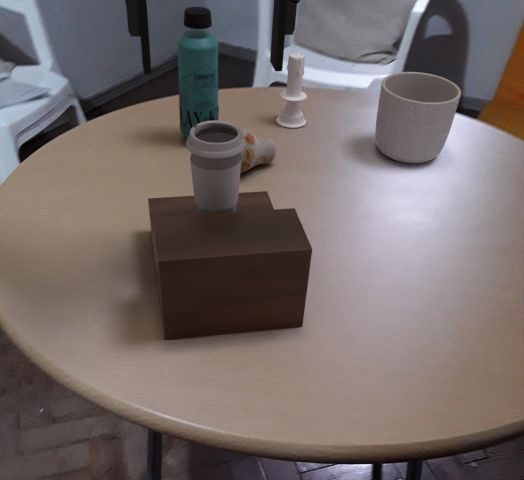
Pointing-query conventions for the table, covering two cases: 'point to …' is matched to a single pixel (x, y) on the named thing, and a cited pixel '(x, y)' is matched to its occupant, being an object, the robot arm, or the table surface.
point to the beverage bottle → (197, 71)
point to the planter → (415, 115)
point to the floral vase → (256, 151)
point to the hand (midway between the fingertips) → (212, 68)
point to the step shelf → (228, 266)
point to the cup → (215, 165)
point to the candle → (293, 93)
